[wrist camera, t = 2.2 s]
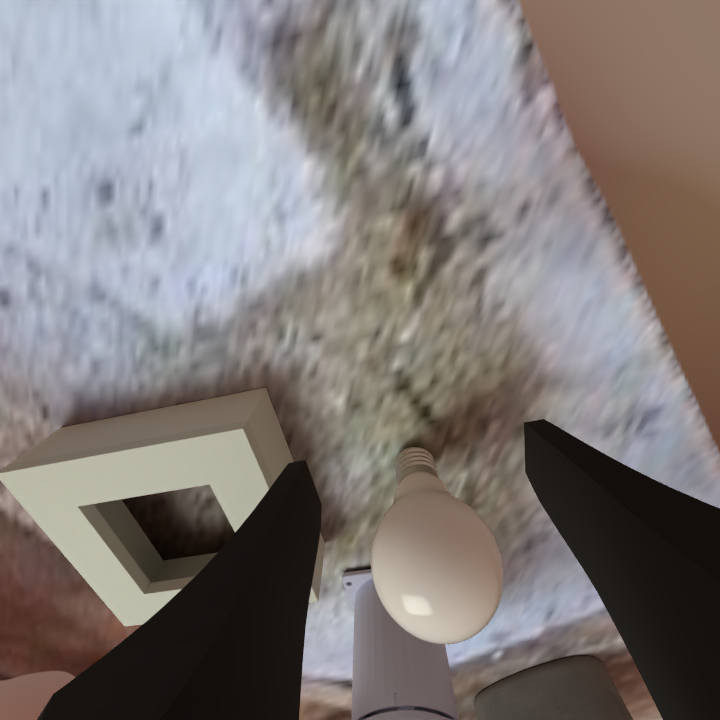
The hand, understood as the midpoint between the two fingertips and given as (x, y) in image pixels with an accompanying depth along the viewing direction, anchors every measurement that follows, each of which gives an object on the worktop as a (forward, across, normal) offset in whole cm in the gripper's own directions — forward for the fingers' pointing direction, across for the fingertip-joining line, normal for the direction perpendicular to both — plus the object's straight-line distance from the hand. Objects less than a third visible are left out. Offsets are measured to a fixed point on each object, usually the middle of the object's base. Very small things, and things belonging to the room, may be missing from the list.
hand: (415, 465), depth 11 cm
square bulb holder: (+10, +16, +8) cm, 21 cm away
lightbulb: (+11, 0, +8) cm, 14 cm away
